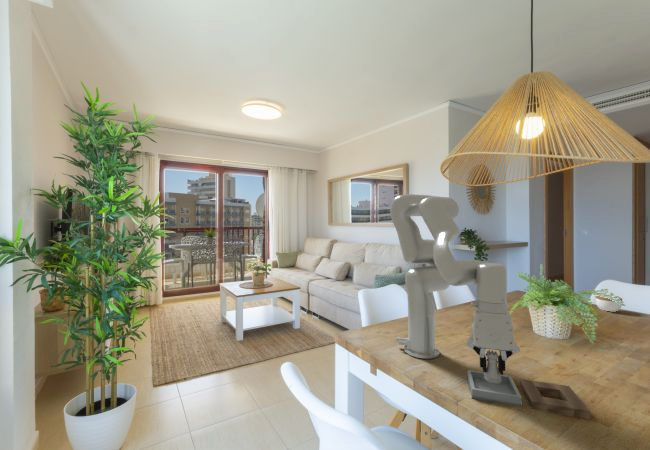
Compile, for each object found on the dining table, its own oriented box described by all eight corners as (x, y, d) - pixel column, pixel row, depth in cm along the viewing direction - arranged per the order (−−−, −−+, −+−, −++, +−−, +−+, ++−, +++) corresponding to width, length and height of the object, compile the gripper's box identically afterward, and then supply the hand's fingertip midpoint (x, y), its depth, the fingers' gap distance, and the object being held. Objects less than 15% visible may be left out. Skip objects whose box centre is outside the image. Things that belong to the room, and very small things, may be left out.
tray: (472, 398, 81) (472, 389, 81) (467, 377, 92) (467, 369, 92) (521, 407, 77) (521, 397, 77) (510, 384, 88) (510, 376, 88)
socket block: (531, 409, 76) (531, 401, 76) (519, 385, 87) (519, 378, 87) (590, 419, 72) (590, 411, 72) (569, 393, 83) (569, 386, 83)
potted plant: (591, 307, 169) (590, 291, 169) (614, 309, 166) (613, 292, 166) (603, 313, 158) (602, 295, 158) (627, 314, 156) (627, 296, 156)
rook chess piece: (495, 376, 87) (495, 348, 87) (505, 384, 82) (504, 355, 82) (480, 376, 87) (480, 349, 87) (489, 384, 82) (489, 355, 82)
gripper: (460, 307, 84) (461, 372, 84) (529, 313, 78) (530, 383, 78) (458, 301, 91) (459, 361, 91) (521, 305, 85) (522, 370, 85)
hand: (492, 370), depth 84 cm, fingers closed on rook chess piece, 3 cm apart
